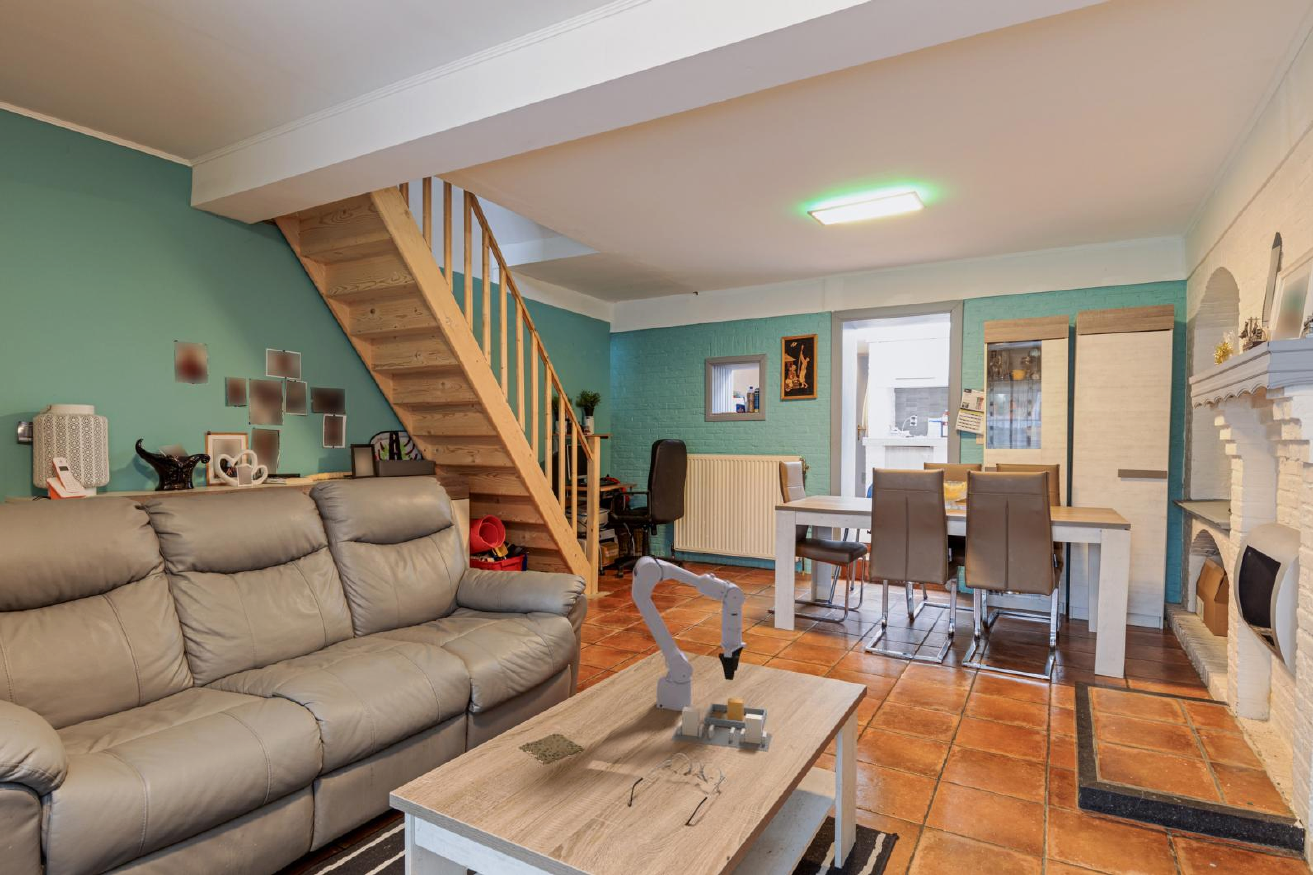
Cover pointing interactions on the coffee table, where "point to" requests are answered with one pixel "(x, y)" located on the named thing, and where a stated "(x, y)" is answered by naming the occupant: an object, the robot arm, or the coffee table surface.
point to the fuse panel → (722, 737)
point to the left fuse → (690, 721)
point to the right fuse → (753, 728)
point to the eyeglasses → (685, 775)
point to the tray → (731, 722)
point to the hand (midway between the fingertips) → (731, 674)
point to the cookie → (552, 748)
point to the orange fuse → (735, 709)
